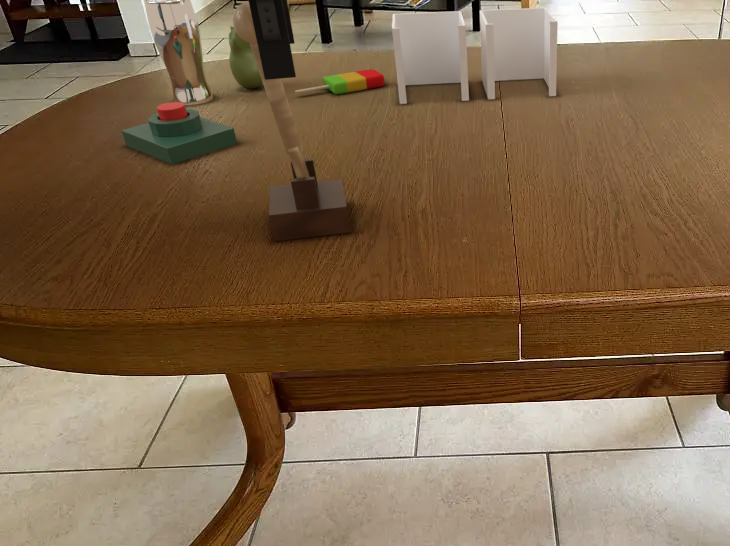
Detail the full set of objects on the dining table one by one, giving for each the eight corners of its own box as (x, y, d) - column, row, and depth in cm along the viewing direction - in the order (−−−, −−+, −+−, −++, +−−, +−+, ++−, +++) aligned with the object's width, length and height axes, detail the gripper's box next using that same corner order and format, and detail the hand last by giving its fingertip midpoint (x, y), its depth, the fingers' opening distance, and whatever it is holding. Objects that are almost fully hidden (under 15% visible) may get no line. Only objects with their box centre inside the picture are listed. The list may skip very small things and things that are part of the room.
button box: (126, 146, 104) (116, 117, 101) (190, 127, 110) (182, 99, 107) (172, 164, 97) (163, 134, 95) (237, 143, 103) (230, 114, 101)
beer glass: (194, 92, 124) (167, -8, 115) (225, 96, 122) (200, -5, 113) (162, 103, 119) (131, 0, 110) (194, 108, 117) (165, 3, 108)
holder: (274, 241, 79) (262, 187, 75) (275, 211, 85) (264, 160, 81) (350, 232, 80) (342, 179, 76) (346, 203, 86) (338, 152, 83)
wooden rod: (225, 10, 67) (265, 2, 67) (228, 2, 70) (266, -5, 70) (289, 194, 78) (323, 187, 79) (289, 182, 81) (321, 174, 81)
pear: (259, 81, 129) (246, 18, 123) (275, 87, 126) (263, 23, 120) (230, 88, 126) (215, 24, 120) (246, 94, 123) (231, 29, 117)
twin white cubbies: (545, 77, 128) (546, 7, 121) (556, 95, 119) (557, 21, 112) (399, 84, 126) (392, 13, 119) (399, 104, 117) (391, 28, 110)
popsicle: (387, 86, 125) (386, 74, 124) (301, 101, 119) (299, 89, 118) (374, 79, 129) (373, 67, 128) (290, 93, 123) (288, 81, 122)
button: (155, 119, 101) (151, 106, 100) (179, 113, 103) (175, 100, 102) (169, 124, 99) (165, 111, 98) (193, 117, 101) (189, 104, 100)
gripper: (272, -232, 50) (325, 91, 63) (276, -215, 70) (316, 29, 83) (156, -231, 49) (233, 98, 62) (193, -214, 68) (246, 34, 81)
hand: (281, 59), depth 72 cm, fingers open, 13 cm apart
